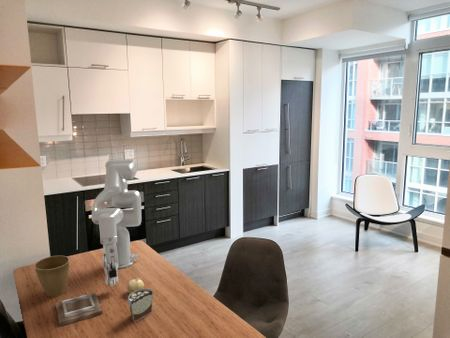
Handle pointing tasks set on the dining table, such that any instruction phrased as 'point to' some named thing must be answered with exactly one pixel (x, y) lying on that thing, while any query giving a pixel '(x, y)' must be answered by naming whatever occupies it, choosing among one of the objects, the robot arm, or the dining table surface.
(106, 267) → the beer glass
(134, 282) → the onion
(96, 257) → the dining table surface
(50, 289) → the plant pot
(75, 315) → the holder board
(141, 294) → the food container
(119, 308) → the dining table surface
